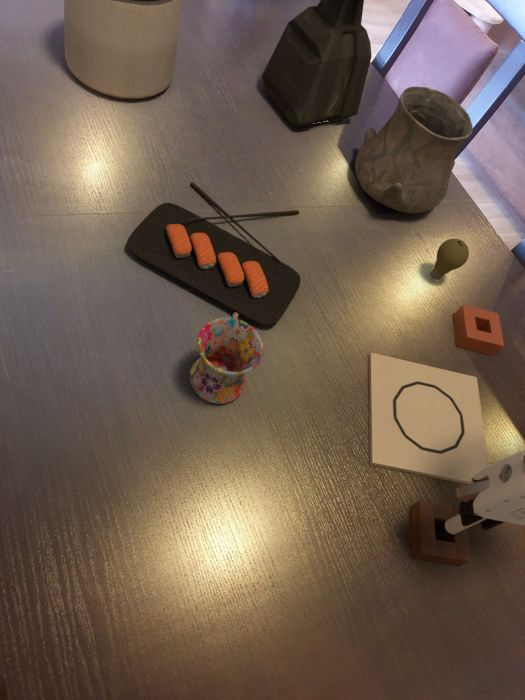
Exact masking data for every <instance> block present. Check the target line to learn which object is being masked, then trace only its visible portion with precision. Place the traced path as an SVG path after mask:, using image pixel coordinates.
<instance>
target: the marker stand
mask: <svg viewBox="0 0 525 700" xmlns="http://www.w3.org/2000/svg"><path fill="white" fill-rule="evenodd" d="M458 514H459V507H455V506H450V505H445V504H440V503H436V502H435V503H434V502H428V501H424V500H418V501H416V502H414V503H413V504H412V505H410V506H409V518H410V519H409V520H410V533H411V534H410V538H411V540H410V541H411V557H412V558H413V559H418V560H423V561H429V562H435V563H439V564H440V563H441V564H447V565H453V566H463V565H465V564H468V563H471V562H472V558H471V548H470V539H469V527H468V528H466V529H464V530H462V531H460V532H458V533H456V534H450V533H449V532H447V531H446V529H445V522H446V521H447V520H449V519H451V518H453V517H455V516H457V515H458ZM436 527H440V528H442V532H443V533H442V535H443V540H440V539H436V538H437V537H436Z"/></svg>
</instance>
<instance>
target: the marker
mask: <svg viewBox="0 0 525 700" xmlns="http://www.w3.org/2000/svg"><path fill="white" fill-rule="evenodd" d="M485 519H488V518H484V517H483V519H481V520H479V521H477V522H475V523H473V524H471V525H469V526H462V524H461V516H460V515H459V514H458V515H457V516H455V517H453V518H451V519H449V520H447V521H446V522H445V529H446V531H447V532H449V533H450V534H456V533H458V532H460V531H462V530H464V529H466V528H468V529H469V528H470V527H473V526H475V525H477V524H479V523H480V522H481V521H483V520H485Z"/></svg>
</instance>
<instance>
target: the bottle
mask: <svg viewBox="0 0 525 700" xmlns="http://www.w3.org/2000/svg"><path fill="white" fill-rule="evenodd" d="M364 4H365V0H320V1H319V2H318V4H317V5H312V6H311V5H309V6H308V7H306V8H305V9H303V10H302V11H301V12H300V13H298V15H296V16H294V17H293V18H292V19H291V20H289V21H288V22H287V24H286V26H285V28H284V30H283V32H282V33H281V36H280V38H279V39H278V42H277V44H276V46H275V48H274V49H273V51H272V54H271V56H270V58H269V60H268V62H267V64H266V66H265V68H264V69H263V72H262V74H261V79H262V85H263V88H264V91H265V92H266V93H267V95H268V96H269V97H270V98H271V100H272V101H273V102H274V104H275V105H276V106H277V107H278V109H279V110H280V112H282V114H283V115H284V116H285V117H286V118H287V120H288V121H289V122H290V124H292V125H293V126H295V127H297V128H302V126H303V127H309V126H313V125H312V124H313V123H317V122H323V121H327V120H328V121H332V122H337V121H336V120H338V121H342V120H345V119H348V118H351V117H354V116H357V115H358V113H359V109H360V105H361V102H362V97H363V93H364V89H365V85H366V81H367V76H368V73H369V69H370V66H371V65H370V64H371V62H372V61H371V60H372V58H373V57H372V55H373V54H372V44H371V40H370V37H369V34H368V31H367V29H366V28H365V26H363V25H362V21H363V13H364ZM341 119H342V120H341ZM308 125H309V126H308Z"/></svg>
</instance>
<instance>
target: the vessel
mask: <svg viewBox="0 0 525 700" xmlns="http://www.w3.org/2000/svg"><path fill="white" fill-rule="evenodd" d="M473 130H474V127H473V122H472V120H471V117H470V115H469V113H468V112H467V111H466V109H464V107H463V106H462V105H461V104H460V103H458V102H457V101H456V100H455V99H454V98H453V97H451V96H449V95H448V94H446V93H445V92H442V91H440V90H437V89H433V88H430V87H426V86H409V87H406V88H405V89H404V90H403V91H402V92H401V94H400V96H399V99H398V102H397V106H396V108H395V110H394V112H393V113H392V115H391V116H390V117H389V119H388V120H387V121H386V122H385V124H384V125H383V126H382V127H381V128H380V130H379V131H377V132H376V129H375V128H373V127H370V128H369V129H367V130H366V131H365V132H364V137H363V138H364V139H363V143H362V144H361V147H360V148H359V150H358V152H357V155H356V157H355V164H354V169H355V175H356V177H357V180H358V182H359V185H360V187H361V189H362V190H363V191H364V193H366V194H367V195H368V196H369V197H370V198H371V199H373V200H374V201H375V202H378V203H379V204H381V205H382V206H384V207H387V208H389V209H392V210H395V211H398V212H401V213H402V212H403V213H406V214H407V213H408V214H418V213H419V214H420V213H425V212H428V211H430V210H433V209H434V208H435V207H437V206H438V205H440V204H441V202H442V201H443V200H444V199H445V197H446V195H447V191H448V189H449V188H448V187H449V182H450V180H451V175H452V171H453V169H454V167H455V165H456V161H455V159H456V156H457V153H458V151H459V149H460V147H461V146H462V145H463V144H464V142H466V140H467V139H469V138H470V137H471V136H472V134H473Z"/></svg>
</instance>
